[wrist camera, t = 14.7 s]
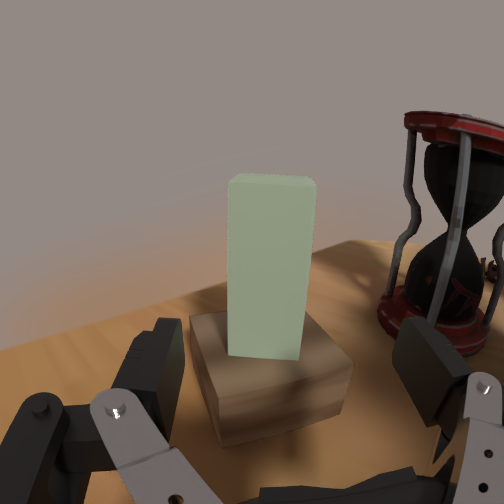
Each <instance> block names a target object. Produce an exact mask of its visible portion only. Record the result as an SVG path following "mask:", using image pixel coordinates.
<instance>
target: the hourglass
mask: <svg viewBox="0 0 504 504" xmlns="http://www.w3.org/2000/svg"><path fill="white" fill-rule="evenodd" d="M404 115H405V117H404V126H405V128H406V129H408V140H407V153H406V165H405V175H404V185H403V187H404V191H405V196H406V198H407V200H408V202H409V204H410V206H411V220H410V223H409V226H408V229H407V230H406V231H405V232H404V233H402V234H401V235H400V236H399V238H398V240H397V241H396V243H395V247H394V252H393V258H392V263H391V268H390V273H389V278H388V283H387V288H386V292H385V293H383V294H382V297H381V299H380V301H379V305H378V310H377V313H378V318H379V321H380V323H381V324H382V326H383V327H384V328H385V330H386V331H387V332H388V333H389V334H390V335H391V336H393V337H394V338H395V339H397V336H398V333H399V330H400V326H401V323H402V321H403V319H404V318H410V317H424V318H425V319H426V320H427V321H428V322H429V323H430V325H431V326H432V327H433V328H434V329H436V330H437V331H439V332H440V333H442V334H443V335H445V336H446V338H447V339H448V340H449V341H450V342H451V345H453V346H454V347H455V348H456V350H457V352H459V353H460V354H461V356H462V357H464V356H468V355H472V354H474V353H476V352H477V351H478V350H480V349H481V348H482V347H483V345H484V343H485V341H486V338H487V336H488V333H489V331H490V327H489V324H490V322H491V319H492V316H493V314H494V311H495V308H496V305H497V302H498V300H499V297H500V294H501V291H502V287H503V284H504V261H503V258H502V245H503V241H504V223H503V224H502V225H501V226H500V227H499V228H498V229H497V232H496V234H495V236H494V238H493V240H492V241H493V243H492V244H493V246H492V247H493V249H492V255H493V257H494V259H495V261H496V264H497V279H496V282H495V285H494V289H493V292H492V295H491V298H490V301H489V304H488V307H487V310H486V313H485V315H484V313H483V312H482V310H480V309H479V308H478V306H479V303H480V300H481V297H482V293H483V288H484V279H483V272H482V269H481V266H480V263H479V260H478V258H477V256H476V254H475V252H474V249H473V247H472V245H471V244H470V242H469V240H468V238H467V236H466V235H467V230H468V229H469V228H470V227H472V226H473V225H474V224H476V223H477V222H479V221H480V220H481V219H483V218H484V217H485V216H487V215H488V214H489V213H490V212H491V211H492V210H493V209H494V208H495V207H496V206H497V205H498V204H499V202H500V200H501V199H502V197H503V196H504V125H502V124H499V123H496V122H492V121H488V120H484V119H480V118H476V117H472V116H471V115H467V114H462V115H460V114H453V113H446V112H434V111H411V112H408V113H405V114H404ZM417 132H419V133H422V137H423V140H424V141H426V142H429V143H431V144H430V145H428V146H427V148H426V151H425V158H424V177H425V181H426V184H427V187H428V190H429V192H430V194H431V196H432V198H433V200H434V202H435V204H436V205H437V207H438V208H439V210H440V212H441V213H442V215H443V217H444V218H445V220H446V222H447V223H448V229H447V231H446V232H445V233H444V234H442V235H441V236H439V237H437V238H436V239H435V240H433V241H432V242H431V243H429V244H428V245H426V246H425V247H424V248H423V249H422V250H421V251H419V252H418V253H417V255H416V256H415V257H414V258H413V260H412V261H411V263H410V266H409V269H408V272H407V275H406V279H405V283H404V285H401V286H397V287H395V284H396V280H397V275H398V270H399V266H400V261H401V256H402V250H403V247H404V245H405V244H406V242H407V240H408V239H409V238H410V237H412V236H413V235H414V234H416V232H417V230H418V228H419V226H420V224H421V221H422V219H421V207H420V205H419V204H418V202H417V200H416V199H415V196H414V192H413V187H412V184H413V175H414V165H415V152H416V138H417Z"/></svg>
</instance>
